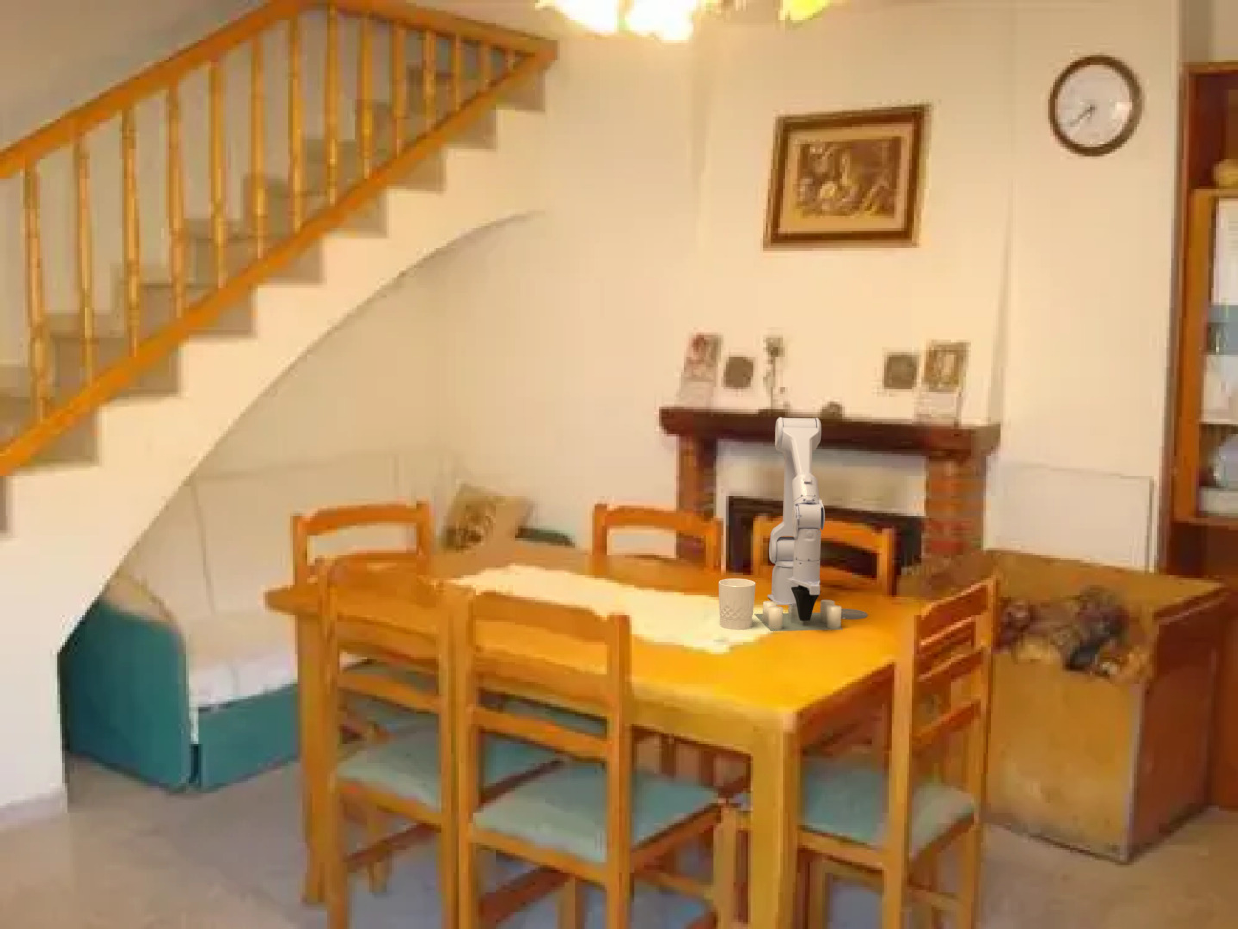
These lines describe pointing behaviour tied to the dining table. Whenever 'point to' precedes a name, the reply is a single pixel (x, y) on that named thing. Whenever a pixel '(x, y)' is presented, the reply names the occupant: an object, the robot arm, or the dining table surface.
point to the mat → (789, 626)
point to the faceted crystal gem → (795, 615)
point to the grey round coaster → (852, 614)
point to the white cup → (736, 603)
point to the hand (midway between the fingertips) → (804, 620)
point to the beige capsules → (827, 614)
